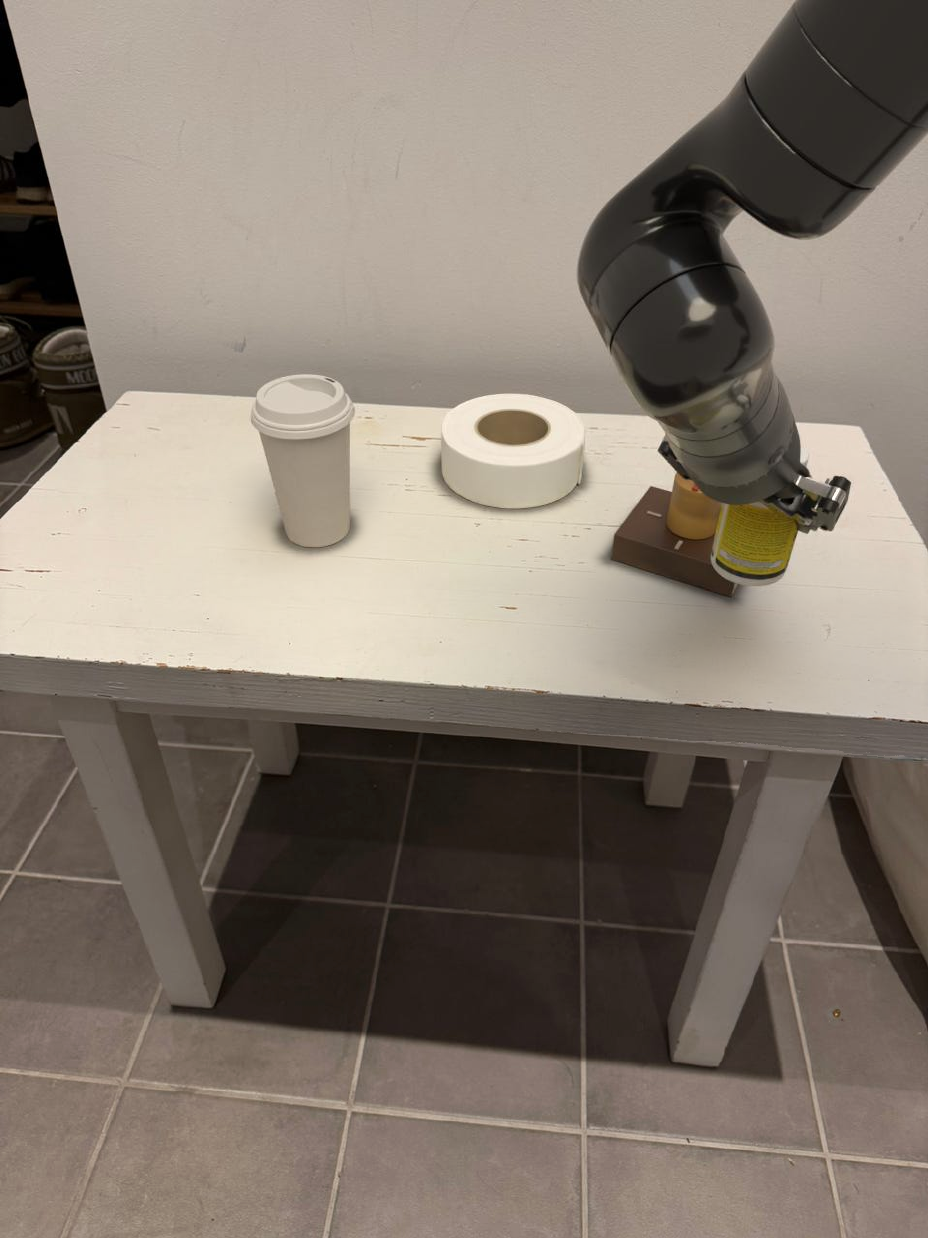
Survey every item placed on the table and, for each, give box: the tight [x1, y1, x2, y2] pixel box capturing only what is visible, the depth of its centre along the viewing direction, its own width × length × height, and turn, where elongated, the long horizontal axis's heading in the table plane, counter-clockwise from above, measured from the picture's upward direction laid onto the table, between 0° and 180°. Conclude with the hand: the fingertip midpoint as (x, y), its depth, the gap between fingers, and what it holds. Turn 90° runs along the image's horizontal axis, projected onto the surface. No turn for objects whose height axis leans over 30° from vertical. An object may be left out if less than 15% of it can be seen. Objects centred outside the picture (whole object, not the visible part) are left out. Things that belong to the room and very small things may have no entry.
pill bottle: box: [711, 444, 810, 587], centre depth 69 cm, size 6×6×11 cm
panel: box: [610, 485, 739, 598], centre depth 85 cm, size 12×10×3 cm
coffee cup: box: [250, 373, 356, 548], centre depth 84 cm, size 10×10×15 cm
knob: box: [666, 472, 722, 539], centre depth 82 cm, size 5×5×6 cm
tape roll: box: [440, 393, 586, 510], centre depth 95 cm, size 16×16×6 cm
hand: (768, 506), depth 70 cm, fingers closed on pill bottle, 6 cm apart
